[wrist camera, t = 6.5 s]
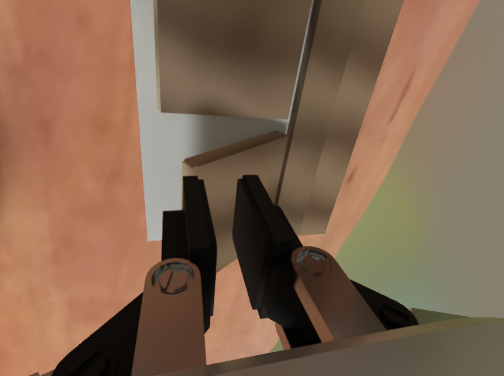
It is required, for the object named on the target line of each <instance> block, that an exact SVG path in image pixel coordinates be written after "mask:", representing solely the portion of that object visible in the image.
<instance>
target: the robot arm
mask: <svg viewBox="0 0 504 376" xmlns="http://www.w3.org/2000/svg"><path fill="white" fill-rule="evenodd" d="M232 238H233V243H234V247H235V250H236V254H237V257H238V261H239V264H240V268H241V271H242V275H243V278H244V282H245V285H246V289H247V292H248V296H249V299H250V303H251V306H252V309H253V310H256V309H257V310H258V313H259V317H260V319H263V318H269V319H271V320H272V321H274V322H276V323H275V326H276V331H277V333H278V336H279V338H280V341H281V344H282V346H283V349H284V350H283V351H277V352H272V353H267V354H261V355H256V356H251V357H246V358H241V359H236V360H231V361H226V362H220V363H215V364H210V365H206V352H205V337H204V334H205V333H206V331H207V330H208V329H209V328H210V316H213V308H214V294H215V280H216V266H217V241H216V236H215V231H214V227H213V222H212V217H211V213H210V208H209V203H208V198H207V194H206V189H205V184H204V180H203V179H198V176H183V210H170V211H163V216H162V259H161V262H159V263H157V264H156V265H154V266H153V267H152V268H151V269H150V270H149V272H148V273H147V276H146V279H145V284H144V291H143V292H142V293H141V294H140V295H139V296H138V297H136V298H135V299H134V300H133V301H132V302H130V303H129V304H128V305H127V306H125V307H124V308H123V309H122V310H121V311H119V312H118V313H117V314H116V315H115V316H113V317H112V318H111V319H110V320H109V321H107V322H106V323H105V324H104V325H102V326H101V327H100V328H99V329H98V330H96V331H95V332H94V333H93V334H92V335H90V336H89V337H88V338H87V339H85V340H84V341H83V342H82V343H81V344H79V345H78V346H77V347H76V348H75V349H73V350H72V351H71V352H70V353H69V354H67V355H66V356H65V357H64V358H63V359H62V360H61V361H60V362H59V363H58V365H57V367H56V368H55V369H54V370H52V371H50V372H48V373H45V374H43V375H41V376H504V318H495V317H467V316H460V315H454V314H448V313H441V312H435V311H429V310H423V309H415V308H411V310H410V311H409V310H408V309H407V308H406V307H404V305H402V304H400V303H398V302H397V301H395V300H392V299H390V298H388V297H386V296H384V295H382V294H380V293H378V292H376V291H373V290H371V289H369V288H367V287H365V286H363V285H361V284H359V283H357V282H354V281H352V280H350V279H349V278H348V277H347V275H346V274H345V273H344V271H343V270H342V269H341V267H340V266H339V264H338V263H337V262H336V260H335V259H334V258H333V257H332V256H331V255H330V254H329V253H327V252H326V251H324V250H322V249H320V248H317V247H312V246H304V247H303V245H302V244H301V242H300V240H299V238H298V237H297V235H296V233H295V231H294V230H293V228H292V226H291V224H290V223H289V221H288V219H287V217H286V216H285V214H284V212H283V211H282V209H281V207H280V206H278V205H275V206H274V204H273V202H272V200H271V198H270V197H269V195H268V193H267V191H266V189H265V188H264V186H263V184H262V182H261V180H260V178H259V177H258V175H243V176H242V179H238V180H237V189H236V199H235V209H234V219H233V229H232ZM30 376H40V375H39V373H38V372H37V373H34V374H32V375H30Z"/></svg>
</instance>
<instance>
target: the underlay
mask: <svg viewBox="0 0 504 376" xmlns="http://www.w3.org/2000/svg"><path fill="white" fill-rule="evenodd" d="M313 2H314V0H312V3H311V8H310V13H309V18H308V23H307V28H306V33H305V38H304V43H303V48H302V53H301V58H300V63H299V68H298V73H297V78H296V83H295V88H294V93H293V97H292V102H291V107H290V112H289V117H288V119H271V118H252V117H233V116H215V115H196V114H178V113H161V110H157V86H156V60H155V34H154V8H153V0H130V5H131V18H132V32H133V46H134V59H135V73H136V87H137V100H138V114H139V128H140V141H141V155H142V169H143V182H144V196H145V210H146V223H147V237H148V241H158V240H162V216H163V211H170V210H181V203H182V162H183V161H184V159H186V158H189V157H192V156H195V155H199V154H202V153H205V152H208V151H212V150H215V149H218V148H221V147H225V146H228V145H231V144H234V143H237V142H241V141H244V140H247V139H250V138H254V137H257V136H260V135H263V134H267V133H270V132H273V131H278V132H281V133H283V134H286V135H287V130H288V125H289V120H290V115H291V110H292V105H293V100H294V95H295V90H296V86H297V81H298V76H299V71H300V66H301V61H302V56H303V51H304V46H305V41H306V36H307V32H308V27H309V22H310V17H311V12H312V7H313Z"/></svg>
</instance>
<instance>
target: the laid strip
mask: <svg viewBox="0 0 504 376" xmlns="http://www.w3.org/2000/svg"><path fill="white" fill-rule="evenodd" d="M403 1H404V0H314V2H313V7H312V12H311V17H310V22H309V27H308V32H307V36H306V41H305V46H304V51H303V56H302V61H301V66H300V71H299V76H298V81H297V86H296V90H295V95H294V100H293V105H292V110H291V115H290V120H289V125H288V130H287V135H288V140H287V145H286V150H285V155H284V160H283V164H282V169H281V174H280V179H279V184H278V189H277V193H276V198H275V203H274V206H275V205H278V206H280V207H281V209H282V211H283V212H284V214H285V216H286V217H287V219H288V221H289V223H290V224H291V226H292V228H293V230H294V231H295V233H296V235H310V234H324V233H325V231H326V228H327V225H328V222H329V219H330V216H331V213H332V210H333V207H334V204H335V201H336V198H337V196H338V193H339V190H340V187H341V184H342V181H343V178H344V175H345V172H346V169H347V166H348V163H349V160H350V157H351V154H352V151H353V148H354V145H355V142H356V140H357V137H358V134H359V131H360V128H361V125H362V122H363V119H364V116H365V113H366V110H367V107H368V104H369V101H370V98H371V95H372V92H373V89H374V86H375V84H376V81H377V78H378V75H379V72H380V69H381V66H382V63H383V60H384V57H385V54H386V51H387V48H388V45H389V42H390V39H391V36H392V33H393V30H394V28H395V25H396V22H397V19H398V16H399V13H400V10H401V7H402V4H403Z"/></svg>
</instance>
